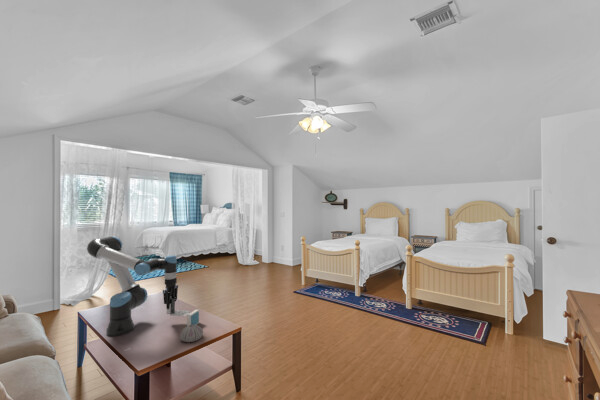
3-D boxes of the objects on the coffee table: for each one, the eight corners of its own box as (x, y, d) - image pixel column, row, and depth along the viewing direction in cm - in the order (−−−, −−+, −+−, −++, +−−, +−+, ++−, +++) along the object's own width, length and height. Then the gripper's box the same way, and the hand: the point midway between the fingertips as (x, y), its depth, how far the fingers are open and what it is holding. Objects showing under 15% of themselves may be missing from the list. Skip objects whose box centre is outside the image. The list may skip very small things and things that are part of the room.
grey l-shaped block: (184, 316, 184) (184, 301, 184) (164, 314, 188) (164, 299, 188) (190, 312, 191) (190, 298, 191) (171, 310, 194) (171, 296, 195)
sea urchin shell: (195, 331, 177) (195, 319, 177) (207, 338, 169) (207, 324, 169) (175, 339, 167) (175, 326, 167) (186, 346, 158) (187, 332, 158)
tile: (190, 329, 181) (190, 315, 181) (187, 328, 182) (187, 314, 182) (199, 322, 191) (199, 309, 191) (195, 322, 191) (195, 309, 192)
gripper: (167, 281, 182) (167, 317, 182) (182, 275, 198) (182, 308, 198) (157, 280, 184) (157, 316, 184) (173, 275, 200) (173, 307, 199)
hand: (170, 312), depth 191 cm, fingers closed on grey l-shaped block, 3 cm apart
